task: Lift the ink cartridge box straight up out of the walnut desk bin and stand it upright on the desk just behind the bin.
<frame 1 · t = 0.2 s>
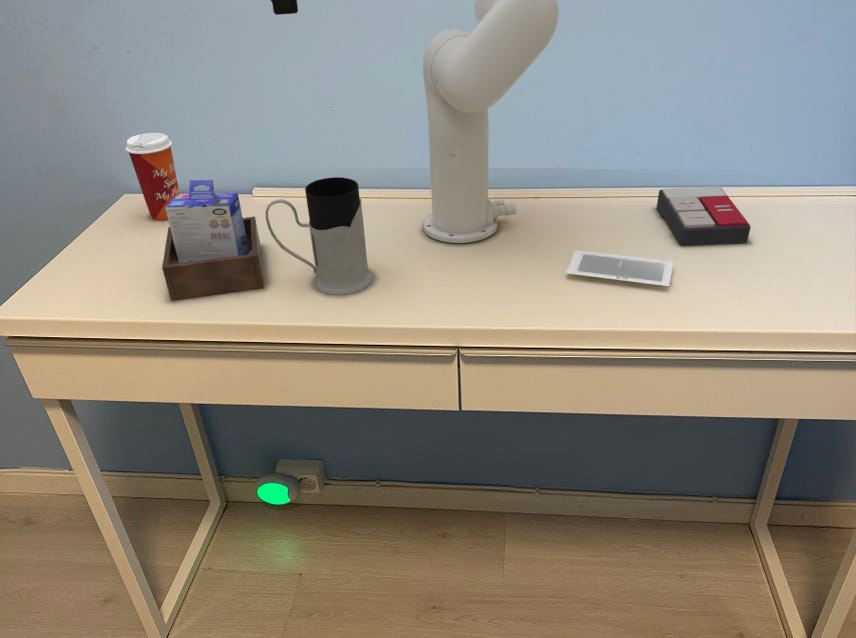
hand: (283, 7, 104), 37 cm above the table, tool pointing down, fingers open, 9 cm apart
calculator: (699, 226, 127), on the table
glass holder: (325, 283, 114), on the table
ink cartridge box: (218, 273, 118), resting in desk bin
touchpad: (619, 275, 114), on the table
paper cup: (167, 214, 138), on the table
desk bin: (218, 272, 118), on the table
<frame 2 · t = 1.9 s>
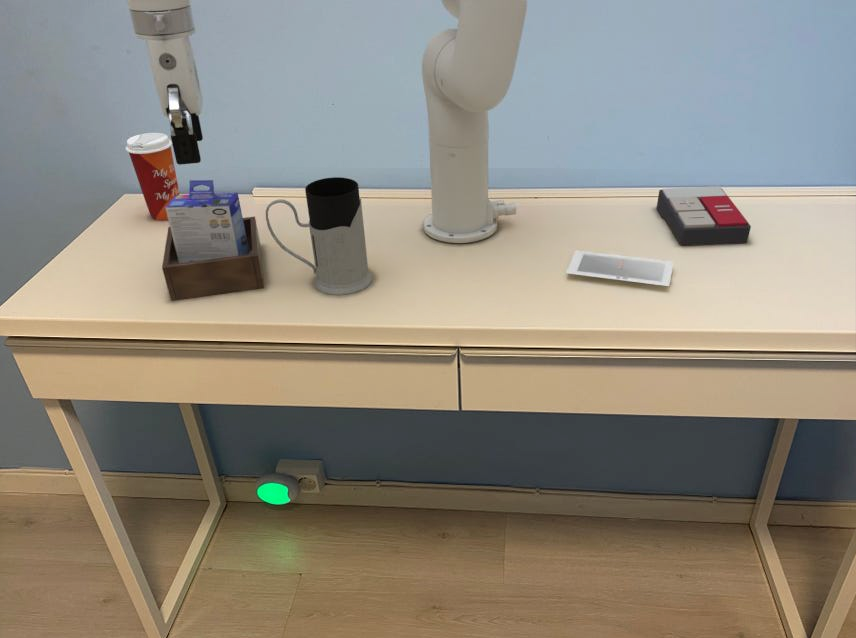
hand: (190, 151, 107), 19 cm above the table, tool pointing down, fingers open, 9 cm apart
nothing on the table moved.
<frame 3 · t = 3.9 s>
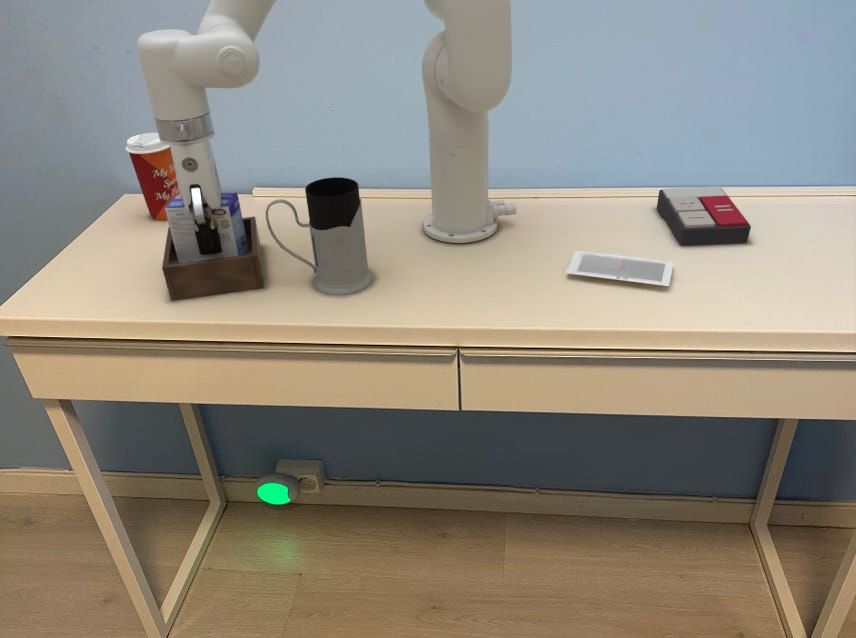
hand: (211, 242, 115), 5 cm above the table, tool pointing down, fingers closed on ink cartridge box, 6 cm apart
ink cartridge box: (218, 273, 118), resting in desk bin, touching gripper
everything else where it was.
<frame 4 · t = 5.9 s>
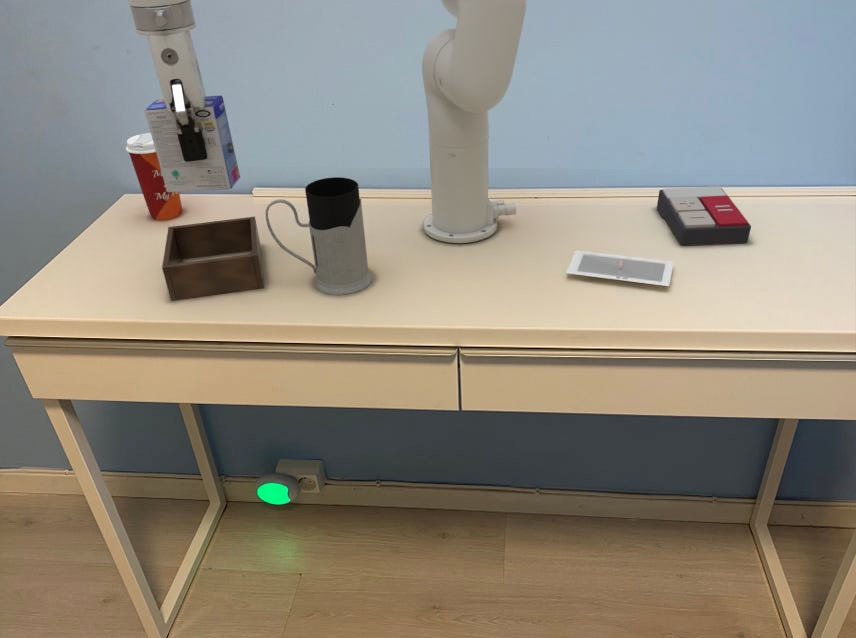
hand: (196, 150, 108), 19 cm above the table, tool pointing down, fingers closed on ink cartridge box, 6 cm apart
ink cartridge box: (205, 186, 111), point 14 cm above the table, touching gripper
everything else where it was.
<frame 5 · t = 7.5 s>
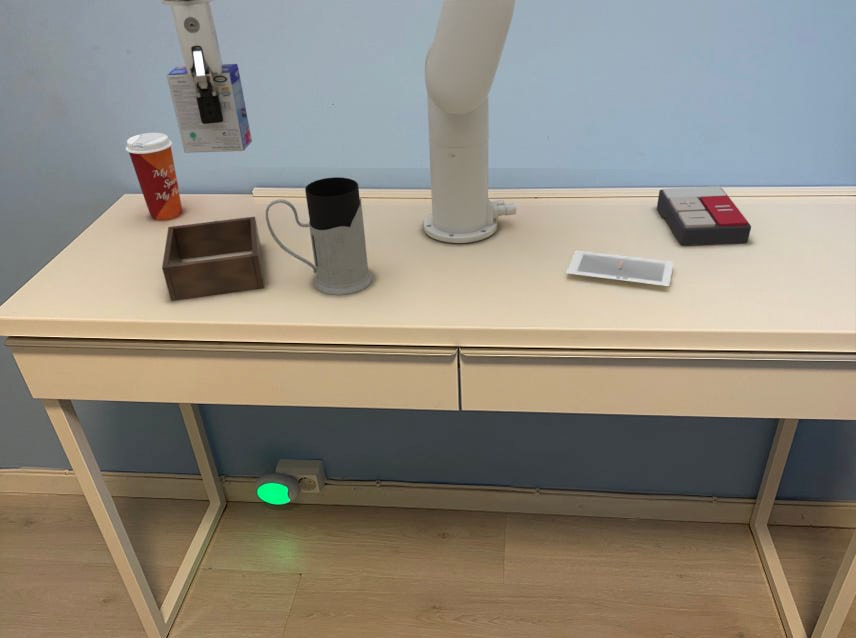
hand: (212, 115, 117), 21 cm above the table, tool pointing down, fingers closed on ink cartridge box, 6 cm apart
ink cartridge box: (219, 148, 120), point 15 cm above the table, touching gripper
everything else where it was.
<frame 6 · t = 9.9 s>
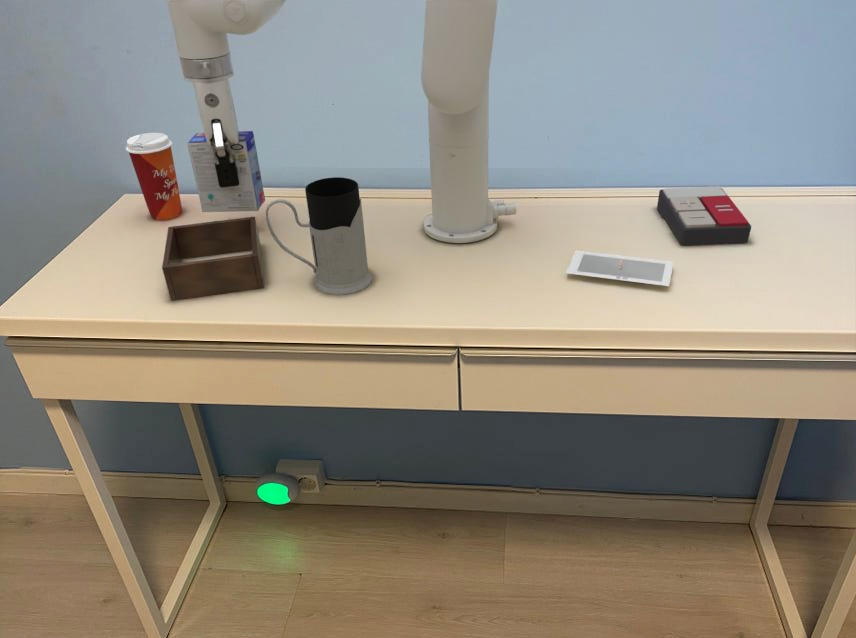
hand: (229, 177, 126), 9 cm above the table, tool pointing down, fingers closed on ink cartridge box, 6 cm apart
ink cartridge box: (235, 207, 129), point 4 cm above the table, touching gripper
everything else where it was.
when the fingers open (5 cm above the table, at t = 11.5 s): ink cartridge box stays where it is, on the table.
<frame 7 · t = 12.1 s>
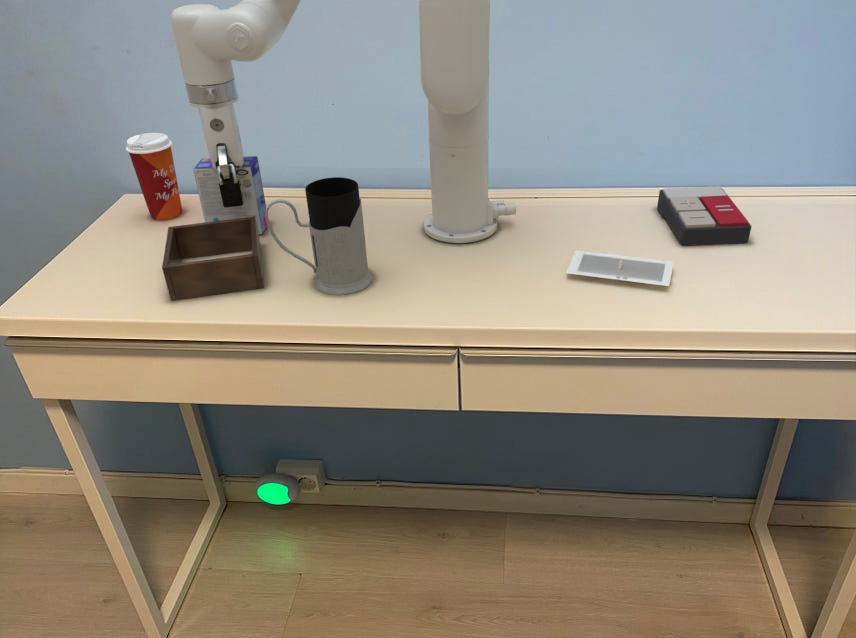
hand: (233, 195, 127), 6 cm above the table, tool pointing down, fingers open, 9 cm apart
ink cartridge box: (239, 230, 131), on the table
everything else where it was.
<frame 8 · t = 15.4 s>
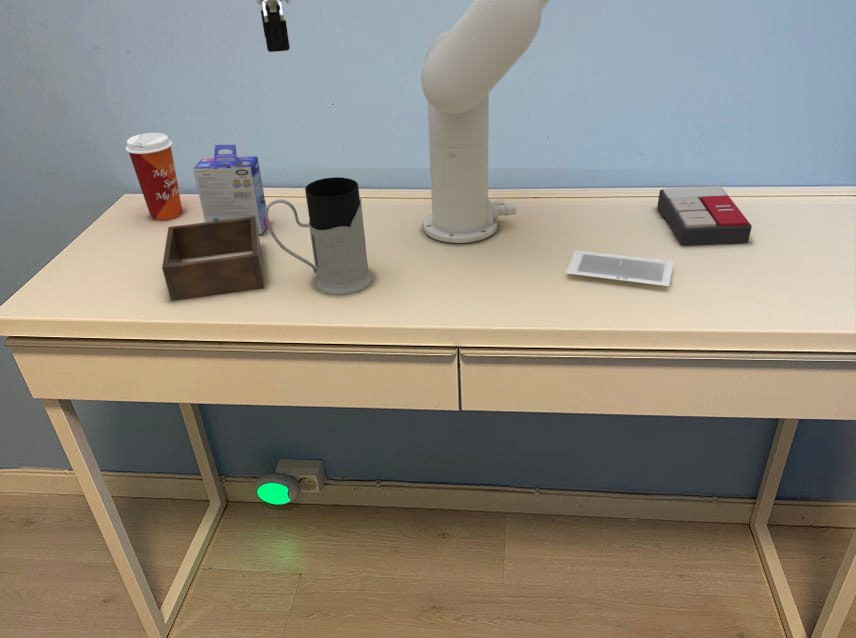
hand: (277, 43, 113), 30 cm above the table, tool pointing down, fingers open, 9 cm apart
nothing on the table moved.
at the end: ink cartridge box inside the target area (0.1 cm from its centre), on the table; ink cartridge box tilted 0°; the gripper is holding nothing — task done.
